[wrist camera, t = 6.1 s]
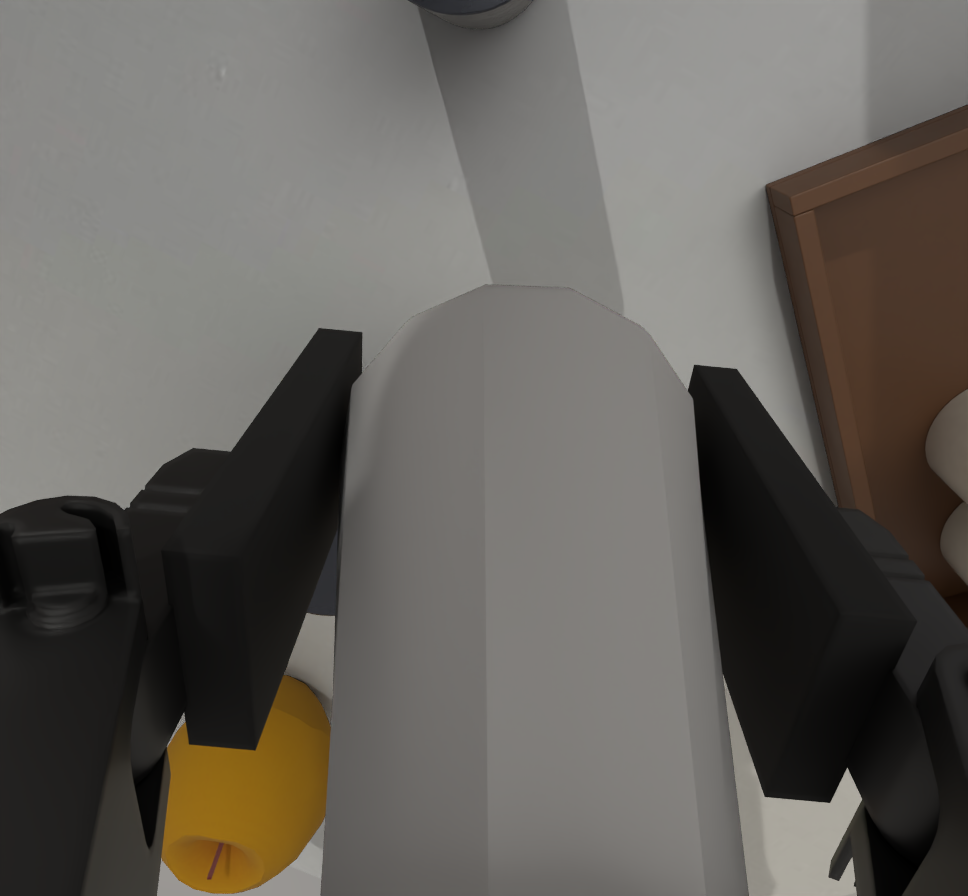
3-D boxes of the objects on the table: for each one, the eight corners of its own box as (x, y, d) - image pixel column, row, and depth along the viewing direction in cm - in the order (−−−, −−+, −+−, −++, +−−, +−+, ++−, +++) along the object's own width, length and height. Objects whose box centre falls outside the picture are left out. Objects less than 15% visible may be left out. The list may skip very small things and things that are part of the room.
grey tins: (389, -179, 26) (315, -320, 16) (570, -130, 26) (604, -238, 17) (309, 463, 38) (240, 601, 29) (434, 488, 39) (407, 633, 29)
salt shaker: (526, 571, 16) (564, 1857, 5) (309, 415, 14) (-472, 1796, 3) (734, 386, 14) (1813, 1976, 2) (504, 176, 12) (397, 1962, 1)
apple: (210, 618, 43) (115, 793, 33) (369, 657, 44) (326, 839, 34) (193, 728, 48) (105, 912, 38) (338, 761, 49) (291, 950, 39)
